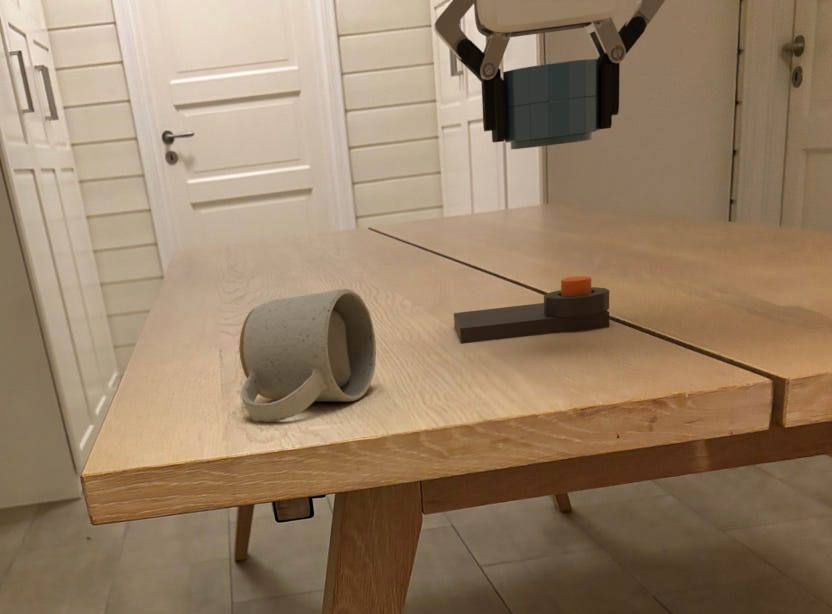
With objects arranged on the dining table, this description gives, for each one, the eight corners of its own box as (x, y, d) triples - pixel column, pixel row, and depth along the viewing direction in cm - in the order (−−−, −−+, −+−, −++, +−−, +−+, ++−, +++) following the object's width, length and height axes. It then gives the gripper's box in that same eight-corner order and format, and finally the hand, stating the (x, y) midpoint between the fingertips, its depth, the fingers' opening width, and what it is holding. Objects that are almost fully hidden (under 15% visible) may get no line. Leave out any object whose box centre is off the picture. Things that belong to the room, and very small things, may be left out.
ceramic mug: (290, 386, 77) (275, 286, 74) (382, 386, 73) (371, 280, 70) (218, 425, 69) (197, 314, 65) (317, 426, 65) (300, 309, 62)
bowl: (587, 139, 74) (587, 64, 72) (607, 138, 68) (608, 55, 65) (498, 150, 74) (496, 76, 72) (511, 150, 68) (508, 69, 66)
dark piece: (592, 312, 92) (592, 279, 91) (614, 329, 84) (614, 293, 82) (454, 328, 93) (452, 295, 92) (461, 346, 85) (459, 310, 83)
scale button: (588, 293, 86) (588, 275, 85) (593, 297, 84) (593, 278, 83) (559, 296, 86) (558, 278, 86) (563, 300, 84) (563, 281, 83)
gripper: (415, -169, 60) (436, 150, 68) (698, -210, 59) (685, 118, 67) (410, -137, 67) (429, 150, 75) (664, -173, 66) (656, 122, 74)
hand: (550, 133), depth 71 cm, fingers closed on bowl, 6 cm apart
